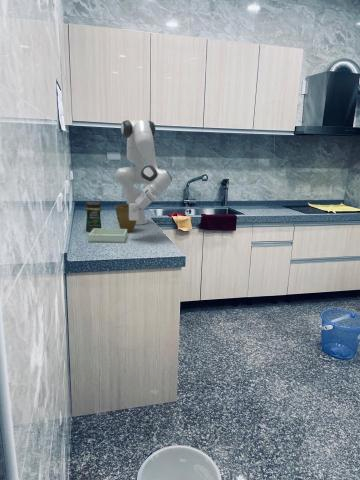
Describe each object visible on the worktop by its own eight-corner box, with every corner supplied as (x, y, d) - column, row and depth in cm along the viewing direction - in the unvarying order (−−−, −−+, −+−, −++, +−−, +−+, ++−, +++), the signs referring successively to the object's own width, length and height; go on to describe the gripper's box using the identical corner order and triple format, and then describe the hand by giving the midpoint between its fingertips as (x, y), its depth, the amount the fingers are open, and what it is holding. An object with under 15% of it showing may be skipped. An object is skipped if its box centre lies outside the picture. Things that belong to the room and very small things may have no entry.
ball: (105, 236, 202) (101, 237, 204) (102, 232, 201) (98, 233, 203) (102, 239, 200) (98, 240, 202) (99, 235, 199) (95, 236, 200)
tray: (93, 234, 214) (93, 228, 213) (127, 235, 216) (127, 229, 215) (88, 242, 197) (88, 235, 196) (124, 242, 198) (124, 235, 197)
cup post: (137, 218, 208) (137, 203, 206) (138, 220, 203) (138, 204, 201) (128, 218, 207) (128, 203, 205) (129, 220, 202) (129, 204, 200)
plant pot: (140, 233, 223) (140, 207, 219) (115, 233, 220) (115, 207, 216) (137, 228, 237) (138, 204, 233) (115, 228, 234) (115, 204, 230)
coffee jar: (85, 232, 221) (85, 202, 217) (86, 229, 229) (85, 200, 224) (101, 231, 223) (101, 202, 219) (101, 229, 231) (101, 200, 226)
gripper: (143, 188, 212) (127, 204, 213) (148, 191, 193) (130, 209, 193) (150, 195, 214) (134, 211, 215) (156, 200, 195) (138, 217, 195)
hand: (132, 210), depth 204 cm, fingers closed on cup post, 5 cm apart
